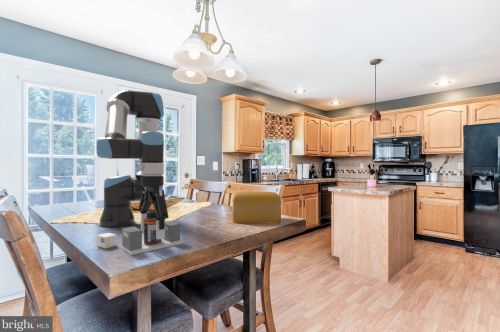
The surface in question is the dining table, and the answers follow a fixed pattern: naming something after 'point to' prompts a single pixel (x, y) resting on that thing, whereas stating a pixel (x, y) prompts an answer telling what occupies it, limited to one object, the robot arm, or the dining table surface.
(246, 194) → the bread
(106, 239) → the block
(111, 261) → the dining table surface
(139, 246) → the board
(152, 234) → the supplement bottle
